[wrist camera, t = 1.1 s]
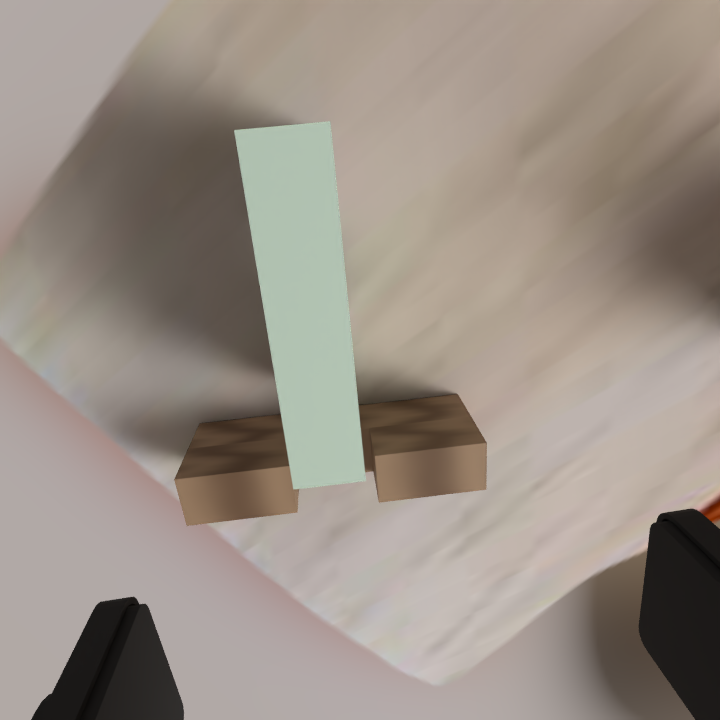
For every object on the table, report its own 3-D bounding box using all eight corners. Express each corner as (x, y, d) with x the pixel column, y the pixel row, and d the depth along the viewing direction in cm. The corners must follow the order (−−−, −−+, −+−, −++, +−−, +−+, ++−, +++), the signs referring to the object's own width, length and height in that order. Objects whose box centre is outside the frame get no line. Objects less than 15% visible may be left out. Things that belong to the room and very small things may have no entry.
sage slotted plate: (267, 142, 35) (234, 130, 21) (325, 137, 35) (330, 121, 21) (301, 379, 41) (293, 489, 28) (349, 373, 42) (365, 481, 28)
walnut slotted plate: (209, 463, 44) (186, 525, 36) (199, 423, 42) (174, 479, 35) (458, 434, 45) (486, 489, 37) (457, 394, 43) (486, 442, 36)
